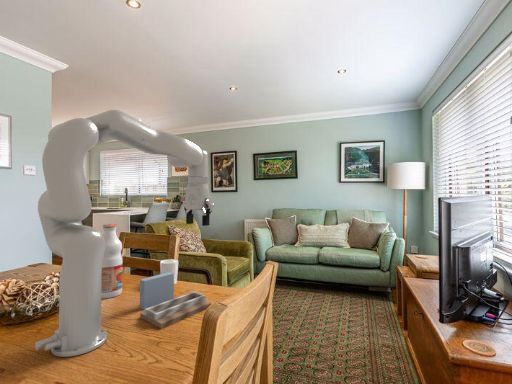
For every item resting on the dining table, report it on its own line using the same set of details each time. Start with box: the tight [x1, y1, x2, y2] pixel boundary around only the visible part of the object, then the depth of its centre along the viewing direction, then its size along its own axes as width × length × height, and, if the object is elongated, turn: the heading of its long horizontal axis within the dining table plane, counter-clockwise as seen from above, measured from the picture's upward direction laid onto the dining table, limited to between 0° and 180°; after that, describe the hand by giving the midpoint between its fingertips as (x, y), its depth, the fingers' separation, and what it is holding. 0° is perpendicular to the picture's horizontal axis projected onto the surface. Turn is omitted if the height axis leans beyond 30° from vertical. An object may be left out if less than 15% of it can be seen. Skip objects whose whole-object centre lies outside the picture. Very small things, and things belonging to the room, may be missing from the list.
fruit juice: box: [101, 223, 123, 299], centre depth 108 cm, size 9×9×28 cm
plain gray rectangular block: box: [139, 272, 175, 311], centre depth 99 cm, size 12×3×10 cm, turn 142°
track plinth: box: [139, 291, 212, 330], centre depth 92 cm, size 20×12×4 cm, turn 142°
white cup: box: [159, 258, 179, 285], centre depth 122 cm, size 8×8×10 cm
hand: (197, 224), depth 106 cm, fingers open, 9 cm apart
